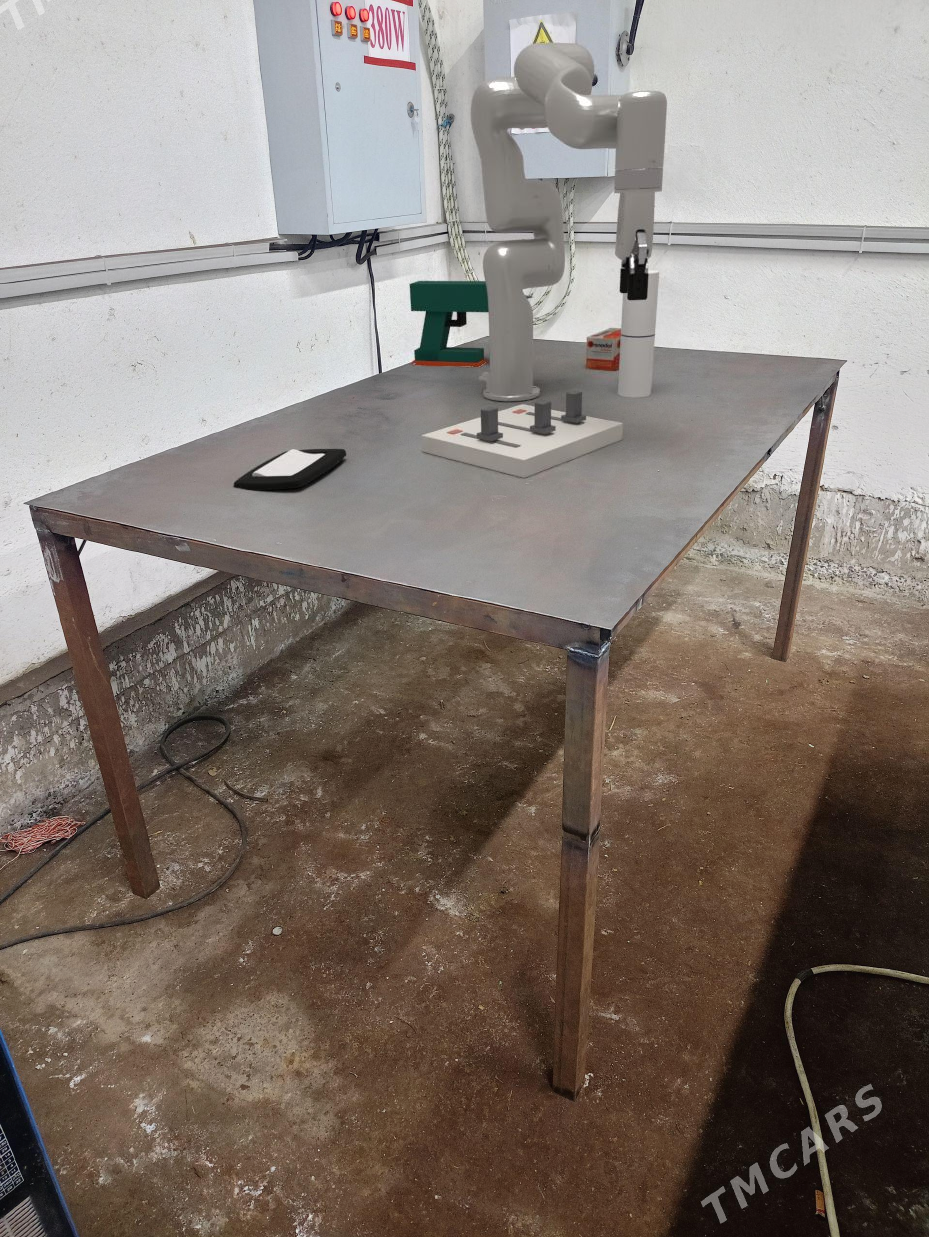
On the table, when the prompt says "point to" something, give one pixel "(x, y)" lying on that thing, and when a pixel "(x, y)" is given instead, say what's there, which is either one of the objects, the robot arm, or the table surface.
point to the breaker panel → (522, 441)
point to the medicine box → (604, 350)
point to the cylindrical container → (638, 342)
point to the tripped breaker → (489, 424)
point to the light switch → (290, 469)
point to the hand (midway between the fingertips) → (632, 296)
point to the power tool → (447, 320)
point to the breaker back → (573, 407)
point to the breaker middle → (542, 418)
